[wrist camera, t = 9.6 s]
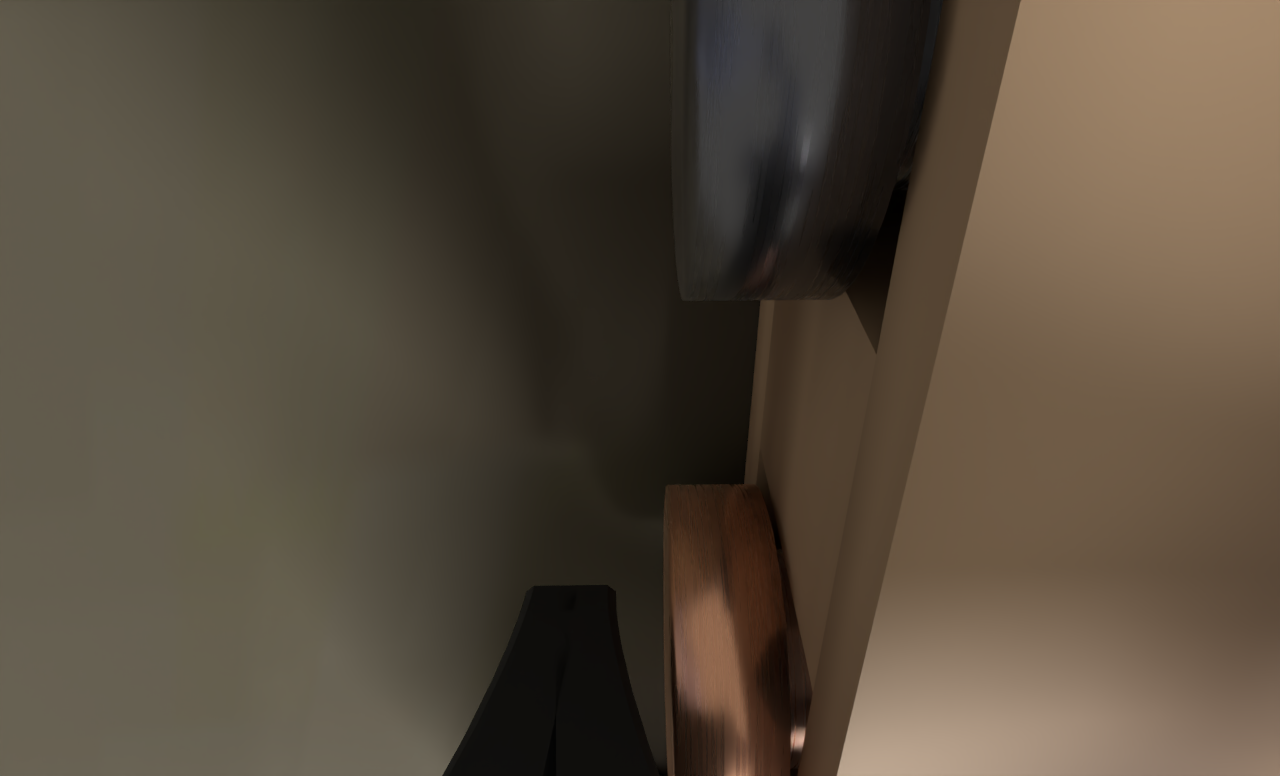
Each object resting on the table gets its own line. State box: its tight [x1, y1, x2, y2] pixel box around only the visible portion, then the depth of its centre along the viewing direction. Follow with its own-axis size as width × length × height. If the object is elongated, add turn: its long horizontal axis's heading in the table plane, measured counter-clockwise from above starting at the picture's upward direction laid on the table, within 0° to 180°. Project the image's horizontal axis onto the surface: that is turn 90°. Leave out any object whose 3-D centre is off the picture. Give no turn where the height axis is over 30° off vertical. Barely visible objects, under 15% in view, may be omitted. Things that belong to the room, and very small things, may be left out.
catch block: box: [744, 0, 1280, 776], centre depth 9 cm, size 6×14×6 cm, turn 0°
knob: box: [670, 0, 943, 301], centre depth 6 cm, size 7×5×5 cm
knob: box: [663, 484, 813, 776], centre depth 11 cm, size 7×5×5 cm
